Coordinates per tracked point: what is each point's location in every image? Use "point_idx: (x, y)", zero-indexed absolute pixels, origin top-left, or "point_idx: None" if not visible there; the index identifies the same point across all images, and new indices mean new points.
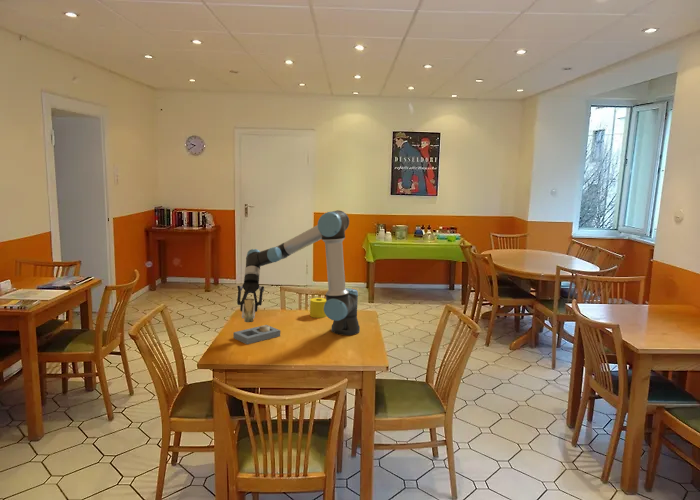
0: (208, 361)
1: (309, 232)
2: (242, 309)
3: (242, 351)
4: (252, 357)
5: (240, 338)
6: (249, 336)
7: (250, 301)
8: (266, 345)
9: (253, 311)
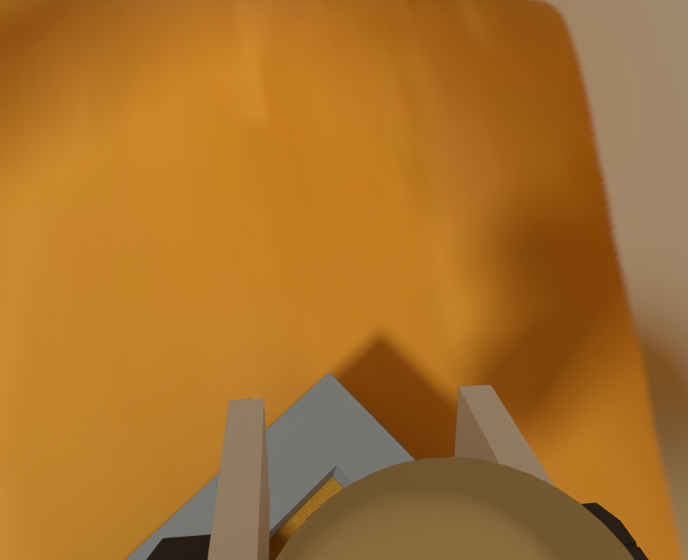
0: (540, 24)
1: None
2: (545, 475)
3: (335, 208)
4: (227, 91)
5: None
6: (312, 450)
7: (355, 483)
8: (108, 379)
9: (245, 466)
